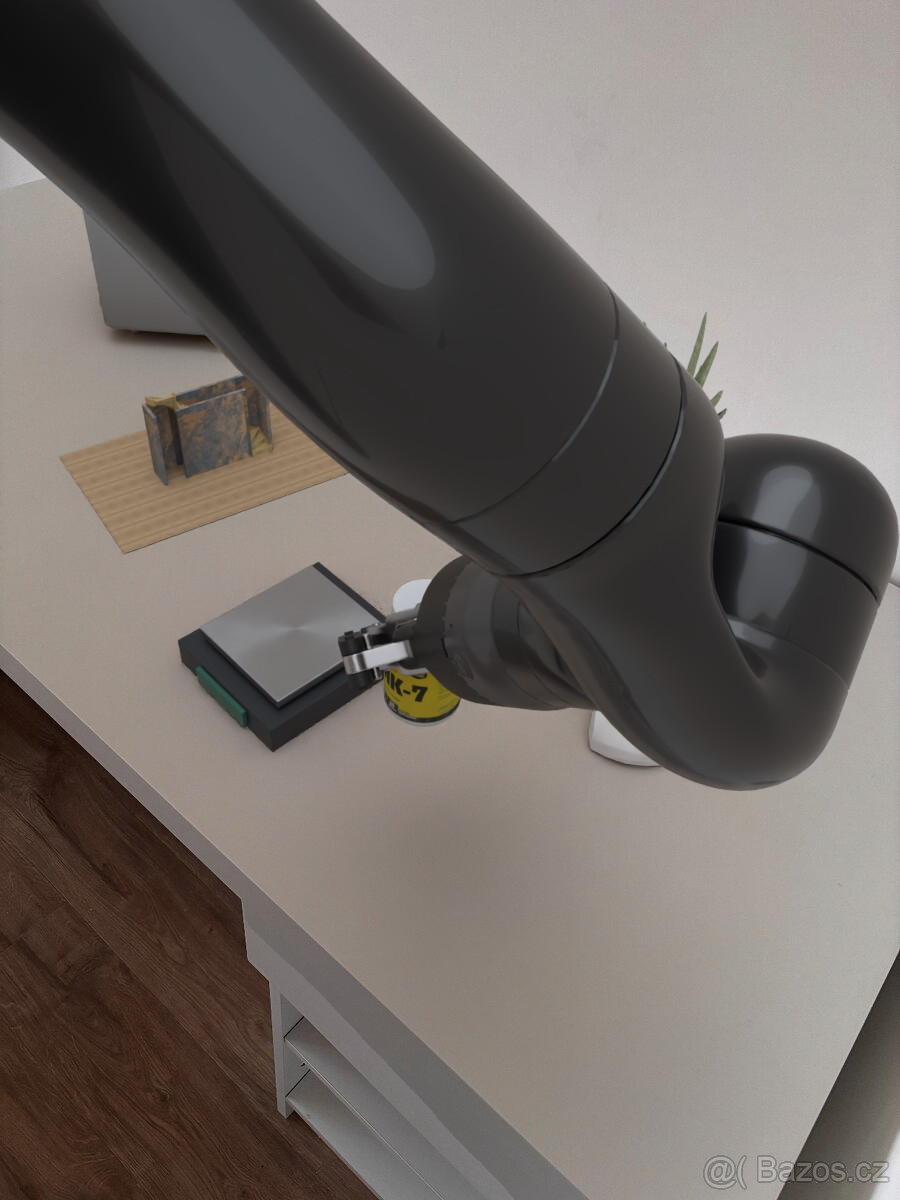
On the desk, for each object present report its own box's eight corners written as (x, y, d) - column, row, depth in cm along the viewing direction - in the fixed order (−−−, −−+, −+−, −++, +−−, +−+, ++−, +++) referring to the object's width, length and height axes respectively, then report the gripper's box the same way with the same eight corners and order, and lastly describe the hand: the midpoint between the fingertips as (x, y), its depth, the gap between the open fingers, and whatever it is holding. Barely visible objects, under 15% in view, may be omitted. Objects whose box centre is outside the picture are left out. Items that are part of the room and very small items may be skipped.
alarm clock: (148, 262, 131) (123, 107, 118) (275, 271, 130) (264, 117, 118) (101, 345, 117) (66, 180, 104) (244, 356, 116) (227, 191, 103)
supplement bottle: (367, 700, 65) (366, 601, 59) (419, 659, 67) (423, 561, 62) (425, 743, 63) (431, 645, 57) (476, 698, 65) (487, 601, 59)
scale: (268, 755, 78) (265, 734, 76) (177, 663, 84) (172, 642, 82) (412, 660, 86) (413, 638, 84) (319, 582, 92) (318, 561, 90)
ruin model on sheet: (124, 553, 93) (104, 464, 86) (58, 456, 102) (36, 369, 95) (368, 465, 104) (368, 380, 97) (289, 384, 113) (283, 301, 106)
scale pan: (278, 708, 78) (277, 701, 77) (200, 634, 83) (198, 627, 82) (390, 637, 83) (390, 630, 83) (311, 571, 88) (311, 564, 88)
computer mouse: (682, 654, 87) (698, 600, 83) (667, 778, 78) (684, 725, 74) (605, 638, 88) (617, 584, 84) (581, 759, 79) (593, 705, 75)
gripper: (639, 506, 50) (500, 542, 66) (353, 585, 45) (279, 603, 61) (680, 659, 50) (532, 658, 66) (401, 754, 45) (314, 728, 61)
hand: (411, 632), depth 63 cm, fingers closed on supplement bottle, 4 cm apart
